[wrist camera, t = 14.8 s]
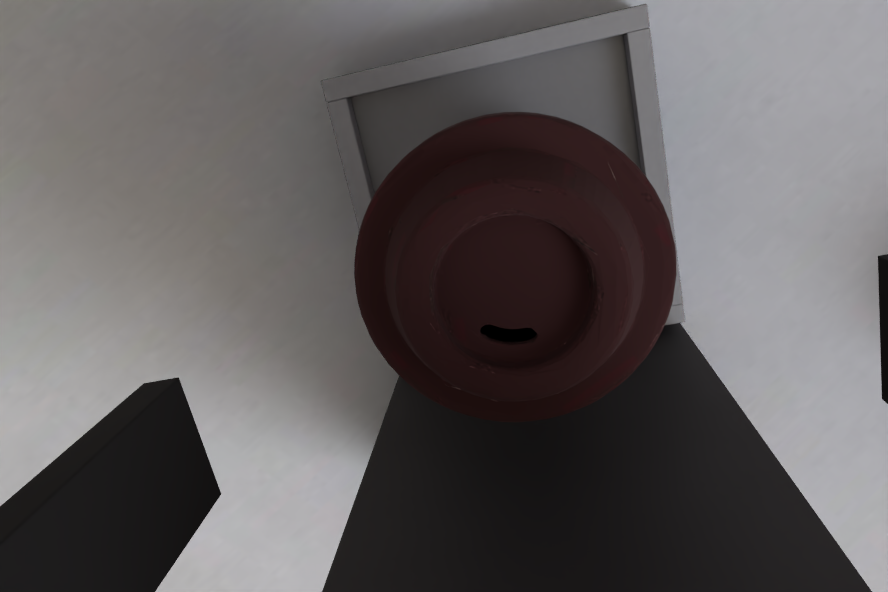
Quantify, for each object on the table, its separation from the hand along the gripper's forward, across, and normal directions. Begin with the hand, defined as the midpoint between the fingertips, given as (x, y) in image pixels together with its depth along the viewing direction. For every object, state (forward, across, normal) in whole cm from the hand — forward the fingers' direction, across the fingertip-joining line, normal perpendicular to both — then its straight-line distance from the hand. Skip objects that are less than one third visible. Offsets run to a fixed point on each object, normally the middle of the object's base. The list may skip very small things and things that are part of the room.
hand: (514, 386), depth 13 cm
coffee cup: (+22, 0, 0) cm, 22 cm away
